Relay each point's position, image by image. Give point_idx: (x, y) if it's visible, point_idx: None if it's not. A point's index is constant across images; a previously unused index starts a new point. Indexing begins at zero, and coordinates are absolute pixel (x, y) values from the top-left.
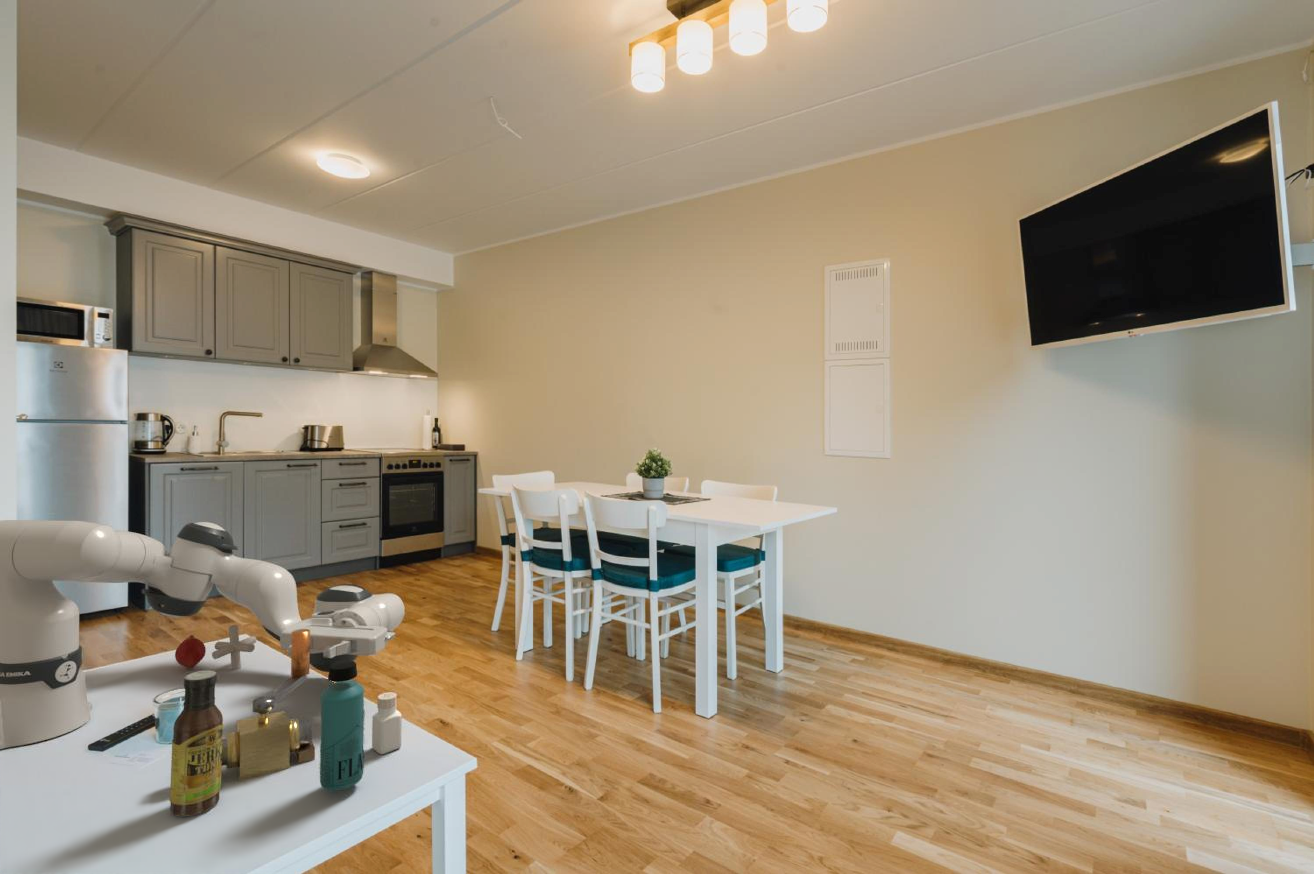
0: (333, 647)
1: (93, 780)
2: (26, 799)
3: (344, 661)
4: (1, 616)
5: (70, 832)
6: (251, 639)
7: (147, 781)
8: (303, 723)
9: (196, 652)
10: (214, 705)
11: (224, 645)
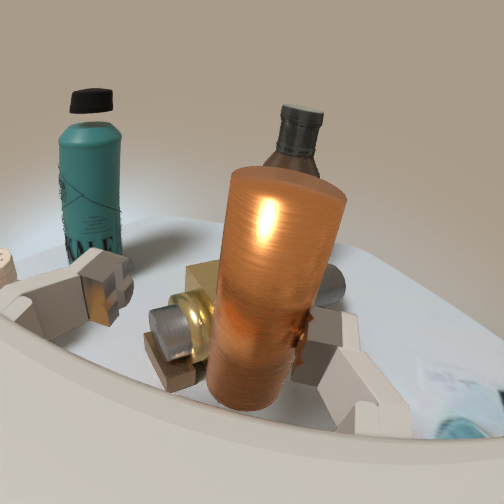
0: (80, 258)
1: (437, 335)
2: (452, 311)
3: (88, 90)
4: None
5: (358, 267)
6: None
7: (377, 330)
8: (168, 309)
9: None
10: (276, 153)
11: None
